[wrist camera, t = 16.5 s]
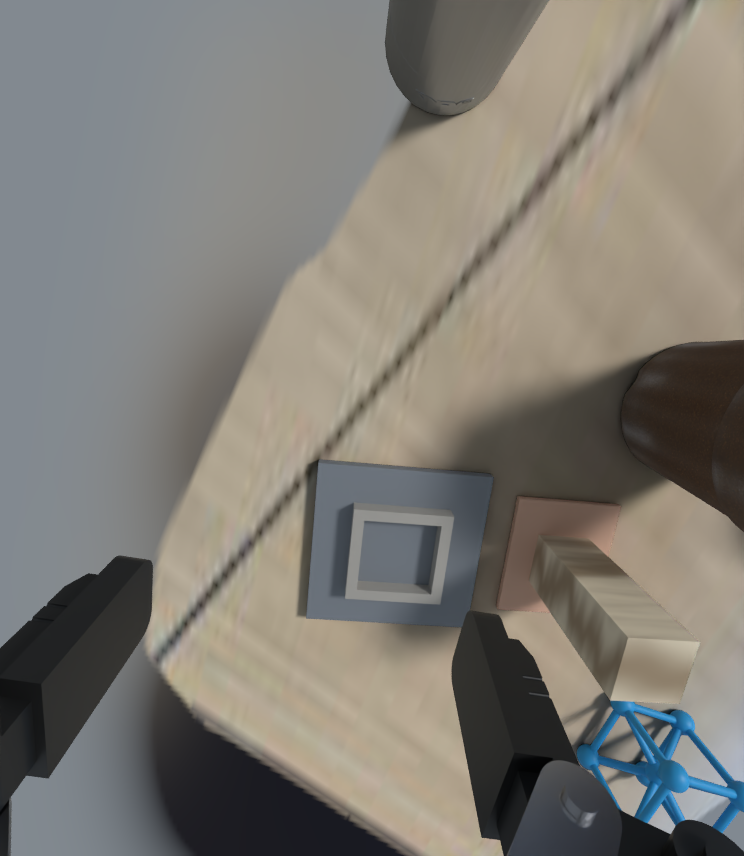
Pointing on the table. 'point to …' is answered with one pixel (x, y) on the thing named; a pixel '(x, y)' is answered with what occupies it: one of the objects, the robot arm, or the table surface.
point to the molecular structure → (662, 765)
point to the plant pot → (692, 421)
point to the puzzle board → (396, 543)
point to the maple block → (613, 622)
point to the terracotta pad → (552, 521)
